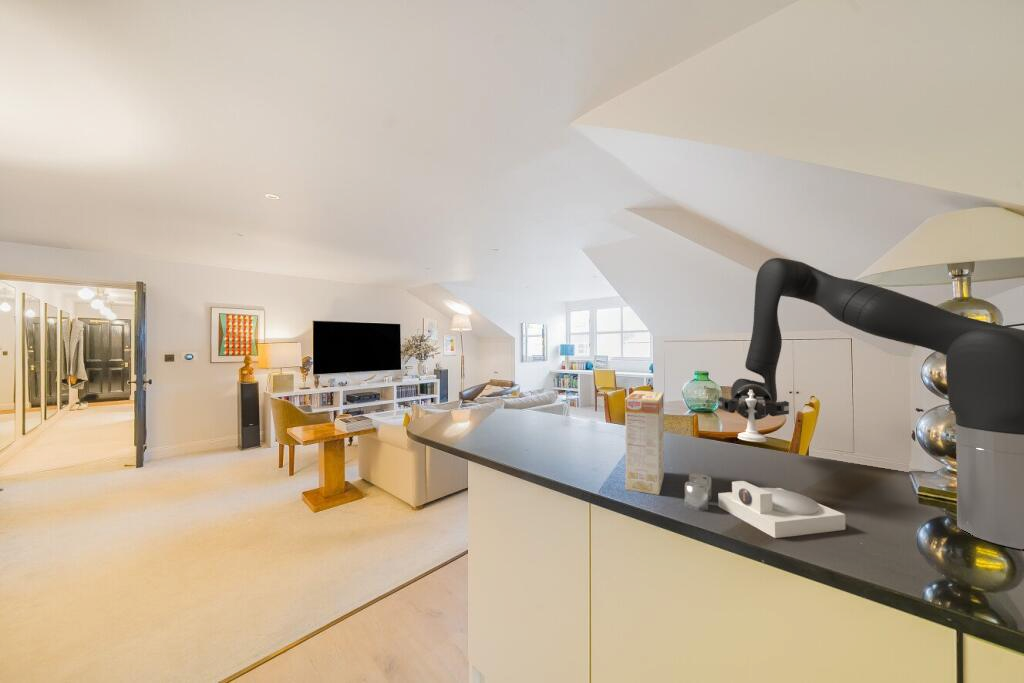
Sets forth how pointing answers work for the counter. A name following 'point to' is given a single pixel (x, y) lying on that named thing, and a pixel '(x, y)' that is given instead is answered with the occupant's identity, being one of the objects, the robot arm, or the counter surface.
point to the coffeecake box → (644, 441)
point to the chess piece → (751, 422)
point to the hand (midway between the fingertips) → (751, 411)
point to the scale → (779, 511)
